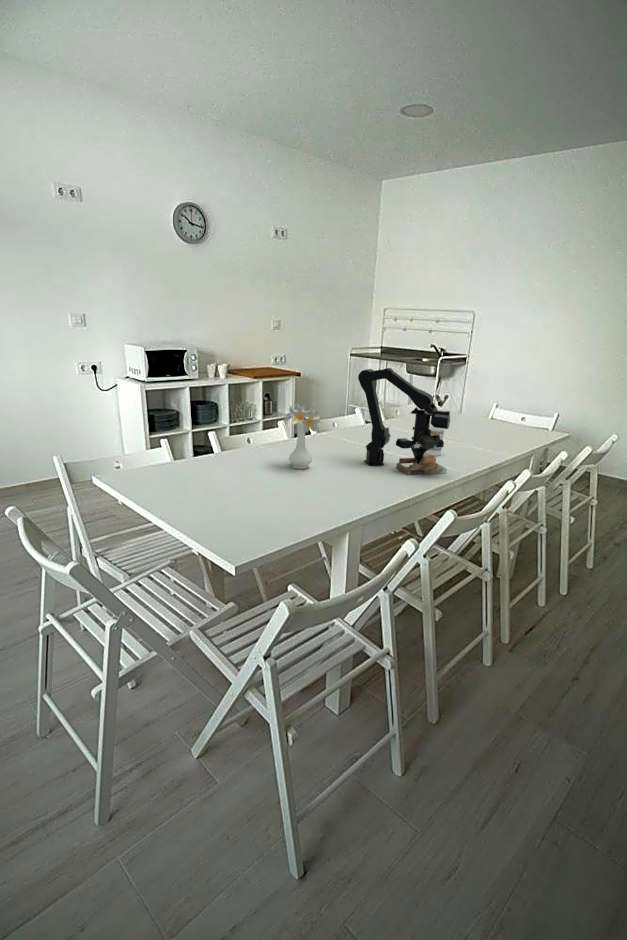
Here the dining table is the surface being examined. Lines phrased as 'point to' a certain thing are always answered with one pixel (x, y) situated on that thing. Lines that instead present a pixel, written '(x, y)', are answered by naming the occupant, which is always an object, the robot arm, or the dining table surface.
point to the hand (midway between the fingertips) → (417, 463)
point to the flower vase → (302, 433)
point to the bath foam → (440, 431)
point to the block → (428, 459)
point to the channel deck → (419, 467)
